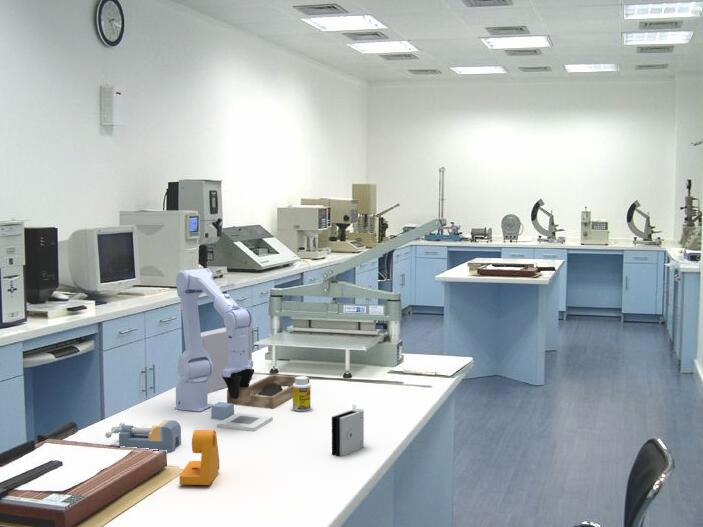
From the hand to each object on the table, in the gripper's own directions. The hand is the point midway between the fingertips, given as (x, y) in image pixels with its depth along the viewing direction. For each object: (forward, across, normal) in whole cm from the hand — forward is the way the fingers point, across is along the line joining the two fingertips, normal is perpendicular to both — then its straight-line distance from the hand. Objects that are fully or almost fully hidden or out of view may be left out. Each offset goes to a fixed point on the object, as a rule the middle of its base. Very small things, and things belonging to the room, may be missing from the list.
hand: (238, 396), depth 236 cm
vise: (+9, -27, +14) cm, 32 cm away
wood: (+9, +33, +6) cm, 35 cm away
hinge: (+9, -9, -38) cm, 40 cm away
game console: (+9, +39, +28) cm, 49 cm away
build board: (+8, +1, -1) cm, 9 cm away
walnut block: (+2, 0, 0) cm, 2 cm away
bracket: (+9, -43, -13) cm, 46 cm away
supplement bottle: (+9, +21, -10) cm, 25 cm away
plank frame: (+8, +33, +6) cm, 34 cm away
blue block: (+9, +5, +8) cm, 13 cm away
